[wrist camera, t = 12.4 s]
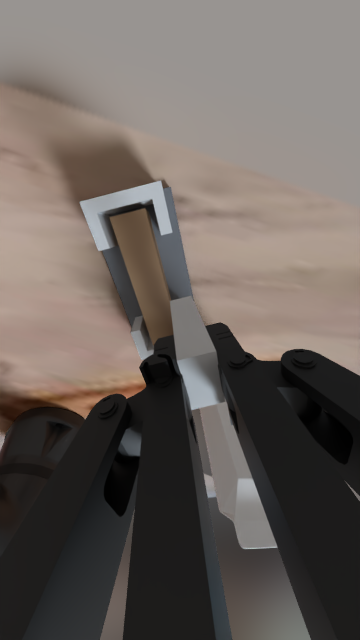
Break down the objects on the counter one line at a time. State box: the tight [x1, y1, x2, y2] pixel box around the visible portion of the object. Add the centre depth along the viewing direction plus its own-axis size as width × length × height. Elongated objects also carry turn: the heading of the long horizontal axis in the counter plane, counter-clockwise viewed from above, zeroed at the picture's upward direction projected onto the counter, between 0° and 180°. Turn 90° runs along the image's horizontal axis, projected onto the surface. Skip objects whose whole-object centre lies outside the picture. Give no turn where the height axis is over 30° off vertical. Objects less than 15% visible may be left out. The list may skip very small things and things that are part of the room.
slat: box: [109, 208, 174, 345], centre depth 24 cm, size 4×15×5 cm, turn 12°
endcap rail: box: [80, 181, 194, 360], centre depth 25 cm, size 10×19×6 cm, turn 13°
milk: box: [199, 399, 277, 549], centre depth 25 cm, size 6×6×22 cm
